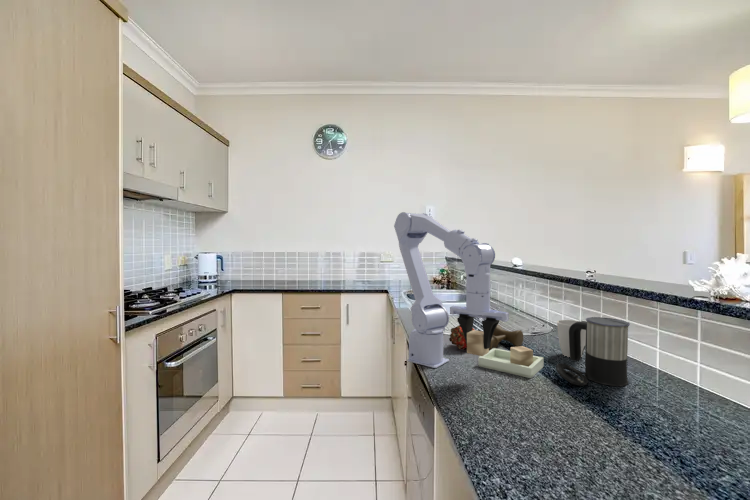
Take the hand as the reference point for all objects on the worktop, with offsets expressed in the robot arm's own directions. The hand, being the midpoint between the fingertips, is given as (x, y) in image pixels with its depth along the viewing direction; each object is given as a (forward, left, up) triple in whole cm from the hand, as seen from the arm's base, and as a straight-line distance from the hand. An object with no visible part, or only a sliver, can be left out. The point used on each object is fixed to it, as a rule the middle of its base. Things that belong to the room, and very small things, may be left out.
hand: (477, 346), depth 88 cm
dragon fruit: (-15, +23, -9) cm, 29 cm away
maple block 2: (+6, +14, -8) cm, 17 cm away
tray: (+3, +15, -8) cm, 17 cm away
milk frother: (+22, +17, -9) cm, 29 cm away
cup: (+14, +36, -9) cm, 39 cm away
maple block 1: (0, 0, -2) cm, 2 cm away
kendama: (-6, +33, -9) cm, 34 cm away
